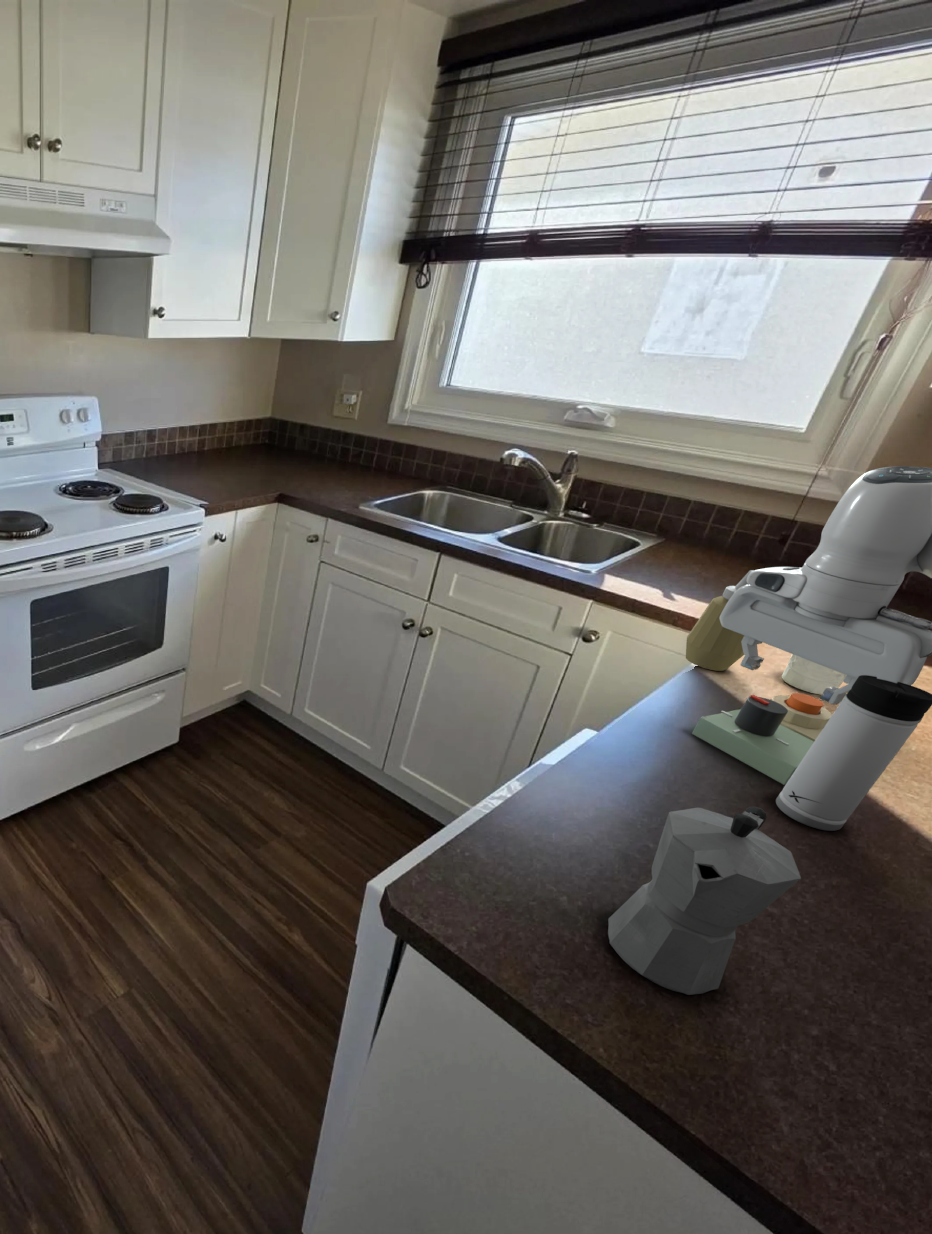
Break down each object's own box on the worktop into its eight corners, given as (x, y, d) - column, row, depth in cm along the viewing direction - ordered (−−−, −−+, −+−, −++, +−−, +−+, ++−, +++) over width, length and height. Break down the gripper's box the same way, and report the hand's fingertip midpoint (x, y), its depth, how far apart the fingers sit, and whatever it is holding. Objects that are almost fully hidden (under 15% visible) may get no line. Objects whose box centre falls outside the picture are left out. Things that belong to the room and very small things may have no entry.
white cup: (773, 682, 116) (804, 631, 112) (780, 668, 121) (809, 618, 116) (837, 703, 111) (871, 650, 106) (840, 687, 116) (874, 635, 111)
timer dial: (781, 734, 97) (797, 709, 95) (759, 738, 96) (774, 713, 94) (748, 717, 101) (762, 692, 99) (726, 720, 100) (740, 696, 98)
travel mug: (780, 819, 85) (871, 686, 76) (770, 791, 90) (854, 662, 81) (847, 840, 82) (951, 705, 73) (833, 810, 87) (928, 679, 78)
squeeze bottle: (672, 661, 122) (718, 569, 114) (683, 648, 127) (729, 558, 118) (728, 680, 117) (782, 584, 108) (738, 665, 121) (790, 573, 113)
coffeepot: (692, 1028, 60) (797, 886, 52) (578, 950, 67) (655, 813, 59) (747, 946, 68) (846, 812, 60) (640, 884, 75) (716, 755, 67)
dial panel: (831, 772, 94) (843, 754, 93) (783, 784, 92) (796, 766, 90) (734, 722, 105) (744, 705, 103) (689, 732, 102) (699, 715, 100)
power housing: (860, 748, 100) (875, 726, 98) (821, 758, 97) (836, 736, 95) (774, 708, 109) (787, 687, 107) (736, 716, 106) (749, 694, 105)
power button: (823, 713, 101) (829, 704, 100) (807, 717, 100) (813, 707, 99) (795, 700, 104) (801, 691, 104) (779, 704, 103) (785, 694, 102)
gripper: (966, 624, 80) (899, 721, 86) (766, 563, 97) (722, 648, 103) (935, 630, 78) (869, 729, 84) (736, 567, 95) (694, 653, 101)
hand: (787, 683), depth 94 cm, fingers open, 8 cm apart
